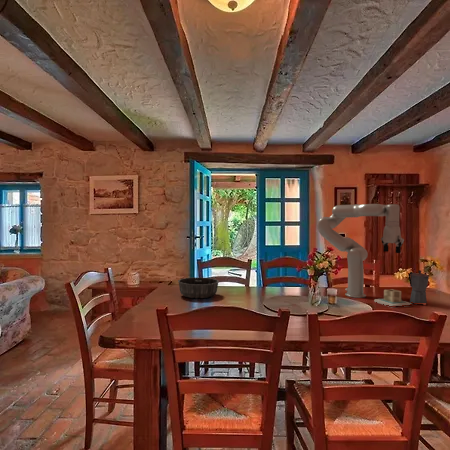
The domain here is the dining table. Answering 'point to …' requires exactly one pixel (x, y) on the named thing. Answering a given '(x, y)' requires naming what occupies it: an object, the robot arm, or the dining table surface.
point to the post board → (391, 302)
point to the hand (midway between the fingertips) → (391, 252)
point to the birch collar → (392, 295)
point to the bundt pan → (198, 287)
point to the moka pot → (418, 287)
